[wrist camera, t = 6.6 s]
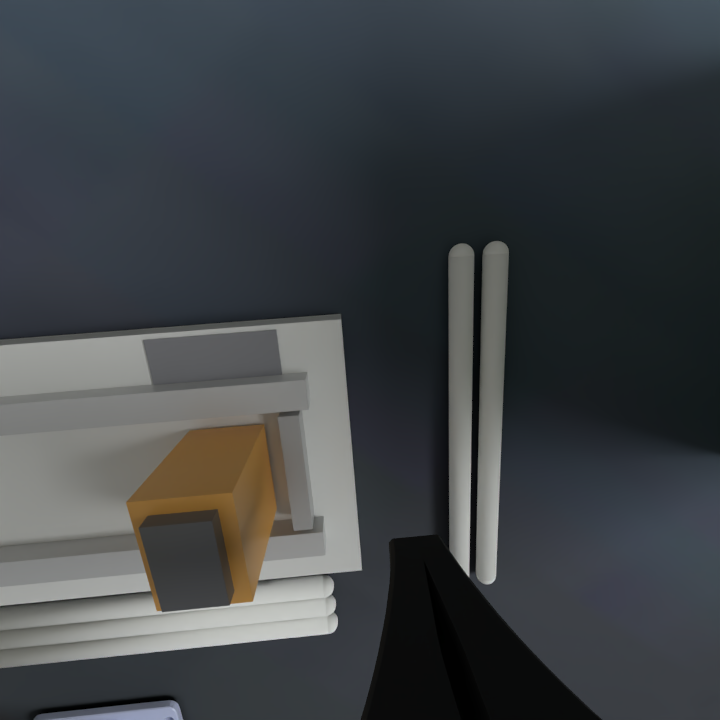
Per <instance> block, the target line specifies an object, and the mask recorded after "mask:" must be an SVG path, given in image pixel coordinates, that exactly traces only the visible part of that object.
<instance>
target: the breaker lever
mask: <svg viewBox="0 0 720 720" xmlns="http://www.w3.org/2000/svg"><path fill="white" fill-rule="evenodd" d="M126 504H127V508H128V512H129V515H130V519H131V522H132V526H133V529H134V533H135V536H136V540H137V543H138V547H139V550H140V554H141V557H142V561H143V564H144V568H145V571H146V575H147V578H148V582H149V586H150V589H151V593H152V596H153V600H154V603H155V607H156V610H157V611H162V612H170V611H180V610H190V609H200V608H210V607H220V606H230V604H235V603H245V602H253V600H254V596H255V592H256V588H257V584H258V580H259V576H260V572H261V568H262V564H263V560H264V557H265V553H266V549H267V545H268V541H269V537H270V533H271V529H272V525H273V521H274V517H275V514H276V510H277V505H276V499H275V492H274V486H273V479H272V473H271V466H270V460H269V453H268V446H267V440H266V433H265V427H264V424H260V425H249V426H237V427H225V428H214V429H202V430H190V431H189V432H188V433H187V434H186V435H185V436H184V437H183V438H182V440H181V441H180V442H179V443H178V444H177V445H176V446H175V447H174V449H173V450H172V451H171V452H170V453H169V454H168V455H167V456H166V458H165V459H164V460H163V461H162V462H161V463H160V464H159V466H158V467H157V468H156V469H155V470H154V471H153V472H152V473H151V475H150V476H149V477H148V478H147V479H146V480H145V481H144V482H143V484H142V485H141V486H140V487H139V488H138V489H137V490H136V492H135V493H134V494H133V495H132V496H131V497H130V498H129V499H128V501H127V502H126Z"/></svg>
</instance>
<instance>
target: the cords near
mask: <svg viewBox="0 0 720 720" xmlns="http://www.w3.org/2000/svg"><path fill="white" fill-rule="evenodd" d="M508 265H509V249H508V247H507V245H506V244H505V243H503V242H501V241H493V242H491V243H489V244H488V245H486V247H485V248H484V250H483V254H482V299H481V346H480V392H479V438H478V485H477V531H476V576H477V578H478V579H479V581H480V582H482V583H484V584H491V583H493V582H494V580H495V578H496V562H497V537H498V512H499V488H500V463H501V438H502V413H503V389H504V364H505V339H506V315H507V290H508ZM448 303H449V550H450V552H451V553H452V555H453V556H454V558H455V559H456V560H457V562H458V563H459V565H460V566H461V567H462V569H463V570H464V571H465V573H466V574H467V575H468V577H469V559H470V495H471V432H472V368H473V304H474V251H473V249H472V248H471V246H469V245H467V244H464V243H460V244H457V245H455V246H454V247H453V248H452V249H451V250H450V252H449V256H448Z"/></svg>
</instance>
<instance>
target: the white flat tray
mask: <svg viewBox="0 0 720 720" xmlns="http://www.w3.org/2000/svg"><path fill="white" fill-rule="evenodd" d="M260 424H264V427H265V433H266V440H267V446H268V453H269V460H270V466H271V473H272V479H273V486H274V492H275V499H276V505H277V510H276V514H275V517H274V521H273V525H272V529H271V533H270V537H269V541H268V545H267V549H266V553H265V557H264V560H263V564H262V568H261V572H260V576H259V580H267V579H277V578H288V577H298V576H308V575H318V574H328V573H338V572H348V571H358V570H362V564H361V550H360V537H359V525H358V513H357V501H356V489H355V477H354V465H353V453H352V441H351V429H350V417H349V405H348V393H347V381H346V369H345V357H344V345H343V333H342V321H341V314H331V315H318V316H305V317H292V318H278V319H265V320H252V321H239V322H226V323H213V324H200V325H187V326H173V327H160V328H147V329H134V330H121V331H108V332H95V333H82V334H68V335H55V336H42V337H29V338H16V339H3V340H0V606H5V605H15V604H25V603H35V602H45V601H55V600H66V599H76V598H86V597H96V596H106V595H116V594H126V593H136V592H146V591H151V589H150V586H149V582H148V578H147V575H146V571H145V568H144V564H143V561H142V557H141V554H140V550H139V547H138V543H137V540H136V536H135V533H134V529H133V526H132V522H131V519H130V515H129V512H128V508H127V504H126V502H127V501H128V499H129V498H130V497H131V496H132V495H133V494H134V493H135V492H136V490H137V489H138V488H139V487H140V486H141V485H142V484H143V482H144V481H145V480H146V479H147V478H148V477H149V476H150V475H151V473H152V472H153V471H154V470H155V469H156V468H157V467H158V466H159V464H160V463H161V462H162V461H163V460H164V459H165V458H166V456H167V455H168V454H169V453H170V452H171V451H172V450H173V449H174V447H175V446H176V445H177V444H178V443H179V442H180V441H181V440H182V438H183V437H184V436H185V435H186V434H187V433H188V432H189V431H190V430H202V429H214V428H225V427H237V426H249V425H260Z"/></svg>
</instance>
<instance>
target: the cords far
mask: <svg viewBox="0 0 720 720" xmlns="http://www.w3.org/2000/svg"><path fill="white" fill-rule="evenodd" d="M333 589H334V582H333V580H332V578H331V577H330V576H328V575H317V576H307V577H297V578H287V579H277V580H267V581H258V584H257V588H256V592H255V596H254V600H253V602H245V603H235V604H230V606H220V607H210V608H200V609H190V610H180V611H170V612H162V611H157V610H156V607H155V603H154V600H153V596H152V593H151V592H146V593H136V594H126V595H116V596H106V597H96V598H86V599H75V600H65V601H55V602H45V603H35V604H25V605H15V606H5V607H0V668H6V667H16V666H26V665H35V664H45V663H54V662H64V661H74V660H83V659H93V658H102V657H112V656H121V655H131V654H141V653H150V652H160V651H169V650H179V649H188V648H198V647H208V646H217V645H227V644H236V643H246V642H255V641H265V640H275V639H284V638H294V637H303V636H313V635H322V634H330V633H332V632H334V631H335V630H336V628H337V625H338V618H337V616H336V614H335V613H334V610H335V608H336V600H335V598H334V596H333V595H332V592H333Z"/></svg>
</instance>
